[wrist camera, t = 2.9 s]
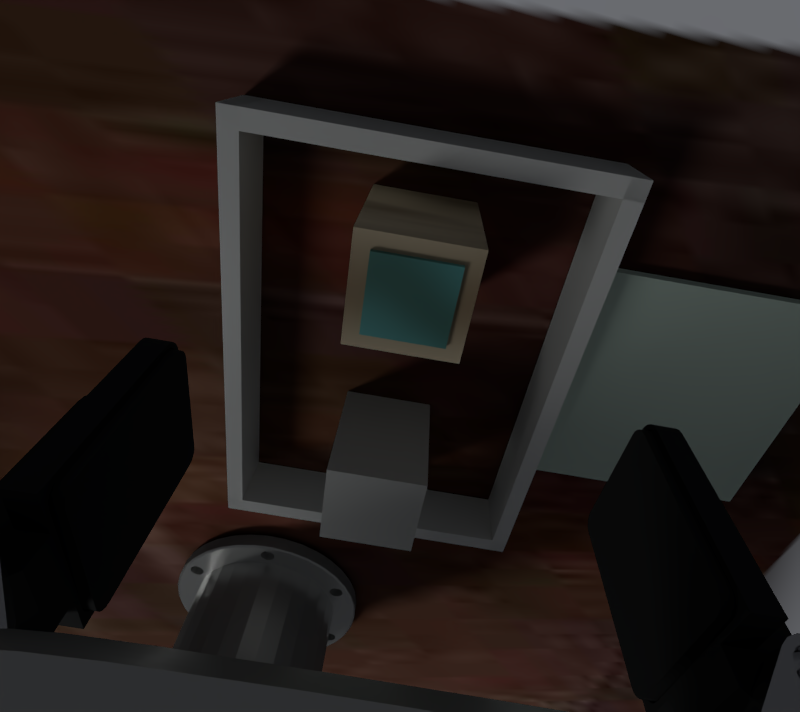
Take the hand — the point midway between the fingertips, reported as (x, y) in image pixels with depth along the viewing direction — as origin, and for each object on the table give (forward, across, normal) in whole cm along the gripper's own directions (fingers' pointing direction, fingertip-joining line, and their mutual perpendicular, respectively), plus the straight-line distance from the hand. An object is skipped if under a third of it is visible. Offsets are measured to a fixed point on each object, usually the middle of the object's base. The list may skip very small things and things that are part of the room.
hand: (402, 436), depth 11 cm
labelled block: (+14, 0, +1) cm, 14 cm away
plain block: (+14, 0, +12) cm, 18 cm away
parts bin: (+14, 0, +6) cm, 15 cm away
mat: (+14, -14, +6) cm, 21 cm away
